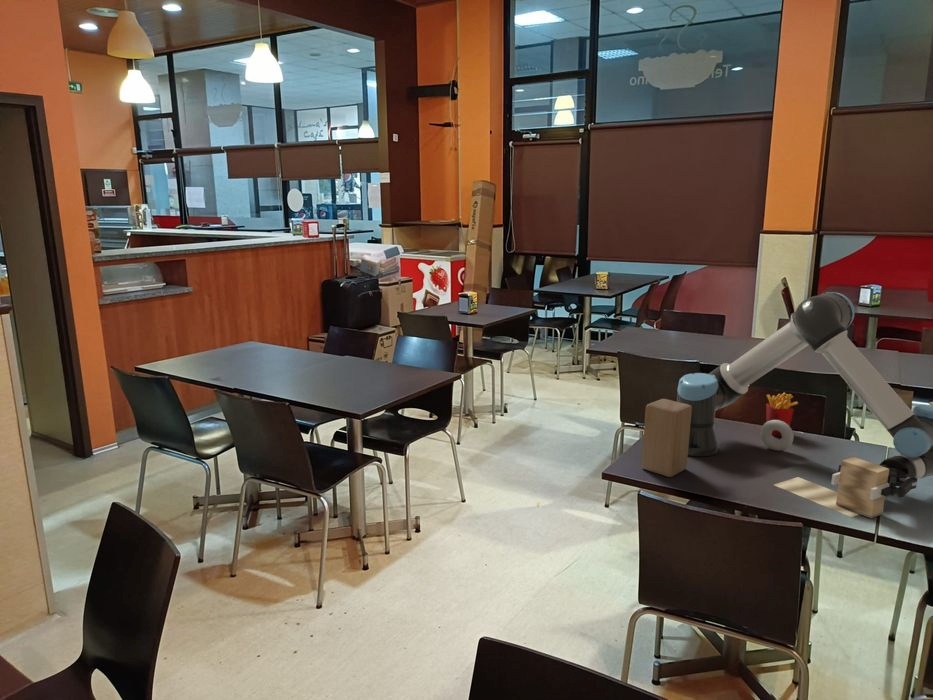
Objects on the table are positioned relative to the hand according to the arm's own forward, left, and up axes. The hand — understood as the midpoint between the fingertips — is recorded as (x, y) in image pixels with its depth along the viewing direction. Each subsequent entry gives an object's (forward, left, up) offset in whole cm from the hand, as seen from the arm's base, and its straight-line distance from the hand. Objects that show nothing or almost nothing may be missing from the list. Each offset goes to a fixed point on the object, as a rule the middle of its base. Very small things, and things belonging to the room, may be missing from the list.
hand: (852, 486), depth 168 cm
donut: (-40, +27, -9) cm, 48 cm away
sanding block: (0, +5, -7) cm, 8 cm away
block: (-46, -16, -9) cm, 49 cm away
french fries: (-48, +41, -9) cm, 63 cm away
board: (-10, +5, -9) cm, 14 cm away
